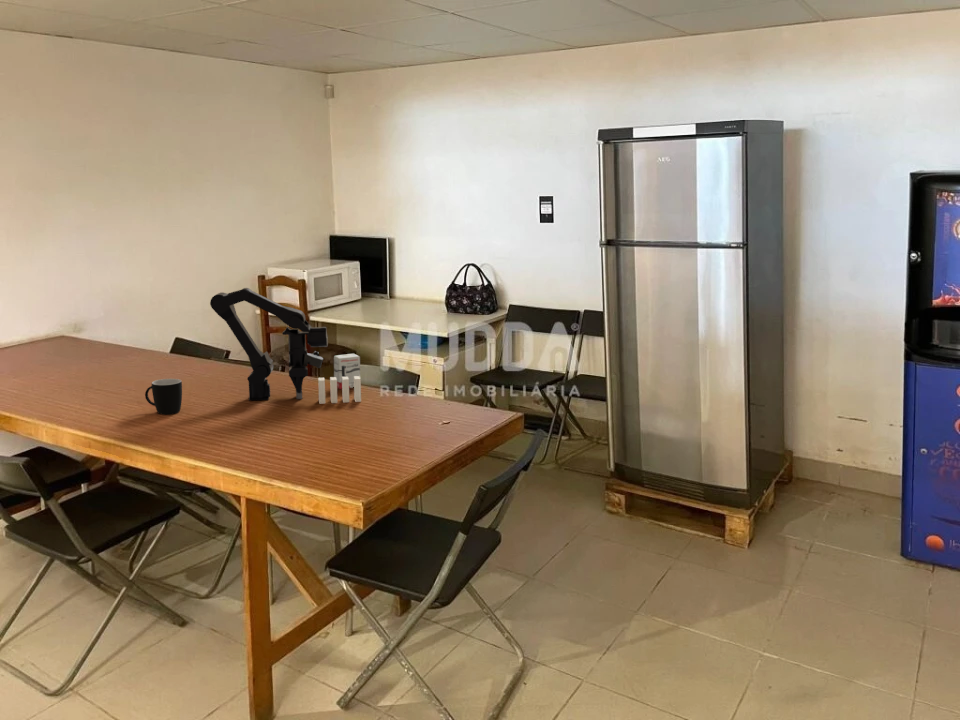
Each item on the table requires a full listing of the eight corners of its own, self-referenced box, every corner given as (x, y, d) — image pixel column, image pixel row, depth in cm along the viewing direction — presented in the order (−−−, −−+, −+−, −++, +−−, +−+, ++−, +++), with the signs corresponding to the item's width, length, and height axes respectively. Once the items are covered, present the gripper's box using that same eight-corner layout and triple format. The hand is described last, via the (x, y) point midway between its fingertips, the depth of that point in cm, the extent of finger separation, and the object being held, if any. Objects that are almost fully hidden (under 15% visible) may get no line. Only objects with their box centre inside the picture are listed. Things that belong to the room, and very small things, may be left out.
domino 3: (331, 403, 263) (330, 380, 262) (330, 399, 268) (330, 377, 266) (337, 402, 264) (336, 379, 262) (336, 399, 268) (335, 377, 266)
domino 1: (296, 399, 268) (295, 376, 266) (296, 396, 272) (295, 373, 270) (302, 398, 268) (301, 376, 267) (302, 395, 272) (301, 373, 271)
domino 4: (343, 402, 264) (342, 379, 263) (342, 399, 268) (341, 376, 267) (349, 402, 265) (348, 379, 263) (348, 399, 269) (347, 376, 267)
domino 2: (319, 403, 262) (318, 380, 261) (318, 400, 267) (318, 377, 265) (325, 403, 263) (324, 380, 261) (324, 400, 267) (324, 377, 265)
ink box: (339, 389, 282) (338, 357, 279) (334, 387, 286) (333, 355, 283) (361, 386, 286) (360, 355, 284) (355, 384, 290) (354, 353, 288)
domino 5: (355, 401, 265) (354, 379, 264) (354, 398, 269) (353, 376, 268) (361, 401, 266) (360, 378, 264) (360, 398, 270) (359, 376, 268)
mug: (188, 409, 254) (186, 379, 252) (175, 416, 245) (172, 385, 243) (154, 407, 255) (151, 377, 253) (139, 415, 247) (136, 384, 244)
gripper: (322, 351, 259) (323, 396, 263) (320, 341, 277) (321, 384, 280) (288, 352, 257) (289, 398, 260) (288, 342, 275) (289, 385, 278)
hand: (299, 391), depth 270 cm, fingers closed on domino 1, 4 cm apart
